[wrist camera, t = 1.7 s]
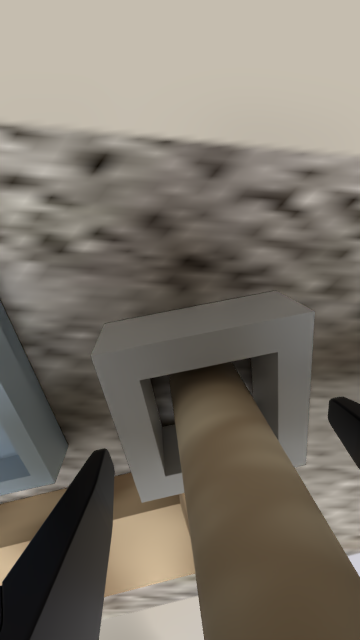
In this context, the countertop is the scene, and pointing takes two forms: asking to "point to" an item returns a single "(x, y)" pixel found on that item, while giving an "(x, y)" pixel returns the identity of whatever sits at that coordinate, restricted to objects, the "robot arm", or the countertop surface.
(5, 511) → the board
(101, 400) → the countertop surface
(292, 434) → the socket block
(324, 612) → the dowel
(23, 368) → the tray
